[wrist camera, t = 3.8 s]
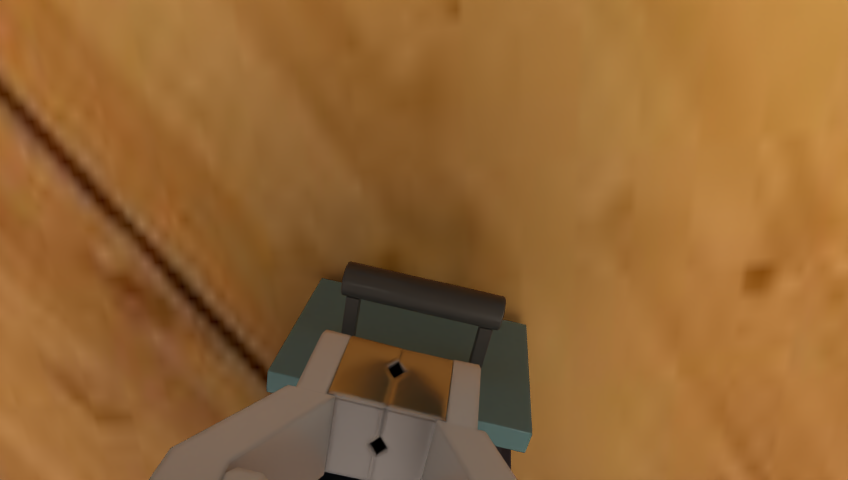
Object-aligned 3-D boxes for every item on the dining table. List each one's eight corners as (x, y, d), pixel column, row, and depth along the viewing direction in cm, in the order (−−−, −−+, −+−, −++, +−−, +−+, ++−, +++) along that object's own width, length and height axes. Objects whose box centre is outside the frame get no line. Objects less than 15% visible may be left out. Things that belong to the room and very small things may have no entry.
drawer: (329, 207, 28) (272, 287, 21) (549, 257, 28) (563, 354, 21) (303, 438, 36) (255, 551, 29) (474, 479, 36) (467, 603, 29)
